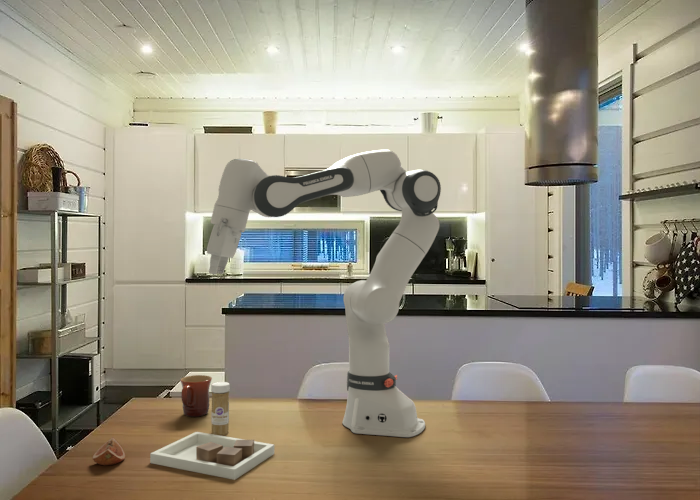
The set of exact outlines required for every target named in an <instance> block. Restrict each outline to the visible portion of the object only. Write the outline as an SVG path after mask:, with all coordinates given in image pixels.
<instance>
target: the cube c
mask: <svg viewBox="0 0 700 500" xmlns="http://www.w3.org/2000/svg"><path fill="white" fill-rule="evenodd" d="M254 441H255V439H244V440H236V442H235V444H234V448H242V461H243V460H244V459H246V458H248V457H249V456H251V455H253V454H254Z"/></svg>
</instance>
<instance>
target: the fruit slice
mask: <svg viewBox="0 0 700 500" xmlns="http://www.w3.org/2000/svg"><path fill="white" fill-rule="evenodd" d="M91 459H92V460H93V462H94V463H96V464H98V465H100V466H101V465H102V466H110V465H116V464H119V463H121V462H123V461H124V460H125V459H126V453H125V450H124V448H123V447H122V445H121V444H120V443H119V442H118V441H117V439H115V438H114V437H113V436H112V437H111V438H109V440H107V441H106V442H105V443H104V444H103V445H101V446H100V447H99V448H98V449H97V450H96V451H95V453H94V454H93V455H92V458H91Z"/></svg>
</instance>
